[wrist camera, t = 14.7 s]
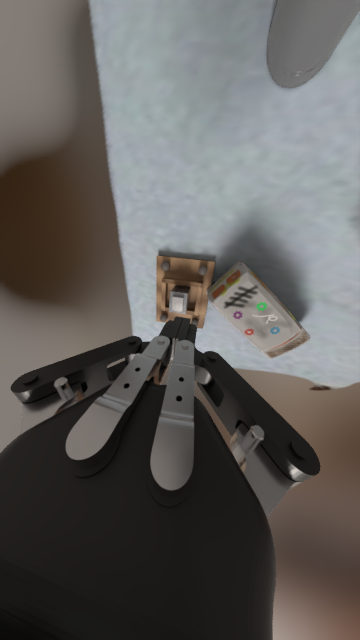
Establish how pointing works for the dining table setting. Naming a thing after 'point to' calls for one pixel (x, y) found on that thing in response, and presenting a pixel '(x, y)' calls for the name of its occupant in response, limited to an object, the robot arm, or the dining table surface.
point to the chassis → (187, 275)
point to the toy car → (256, 312)
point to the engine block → (179, 299)
